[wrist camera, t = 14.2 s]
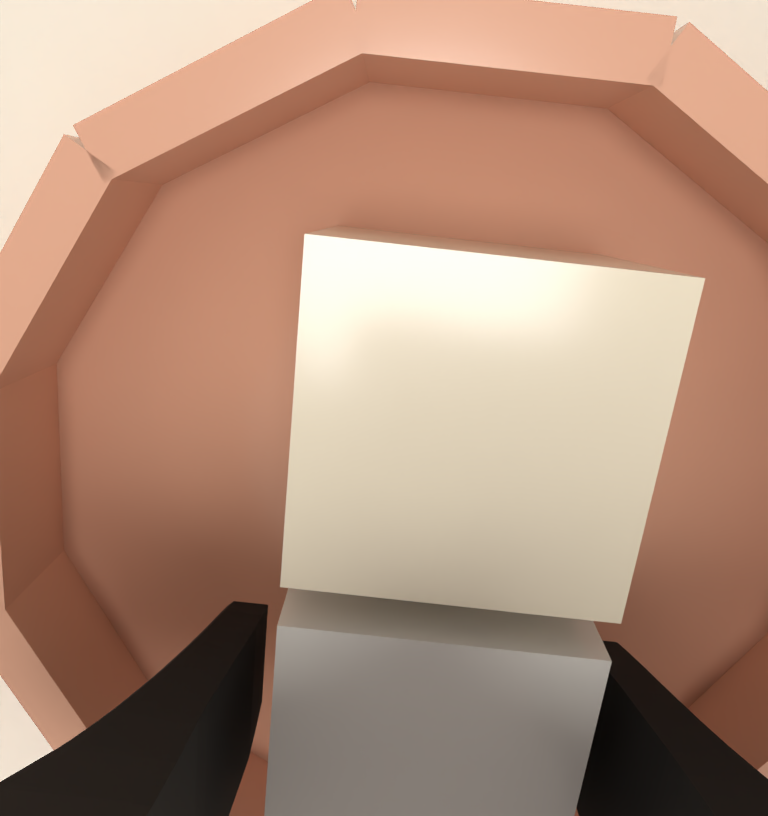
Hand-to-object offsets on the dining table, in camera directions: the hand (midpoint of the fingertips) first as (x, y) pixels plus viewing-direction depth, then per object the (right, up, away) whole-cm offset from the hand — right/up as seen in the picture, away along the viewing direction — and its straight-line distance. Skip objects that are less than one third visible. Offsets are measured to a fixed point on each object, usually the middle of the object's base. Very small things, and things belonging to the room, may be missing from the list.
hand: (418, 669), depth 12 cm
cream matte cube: (+1, +5, 0) cm, 5 cm away
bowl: (0, +3, +1) cm, 3 cm away
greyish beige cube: (0, +1, +1) cm, 2 cm away
